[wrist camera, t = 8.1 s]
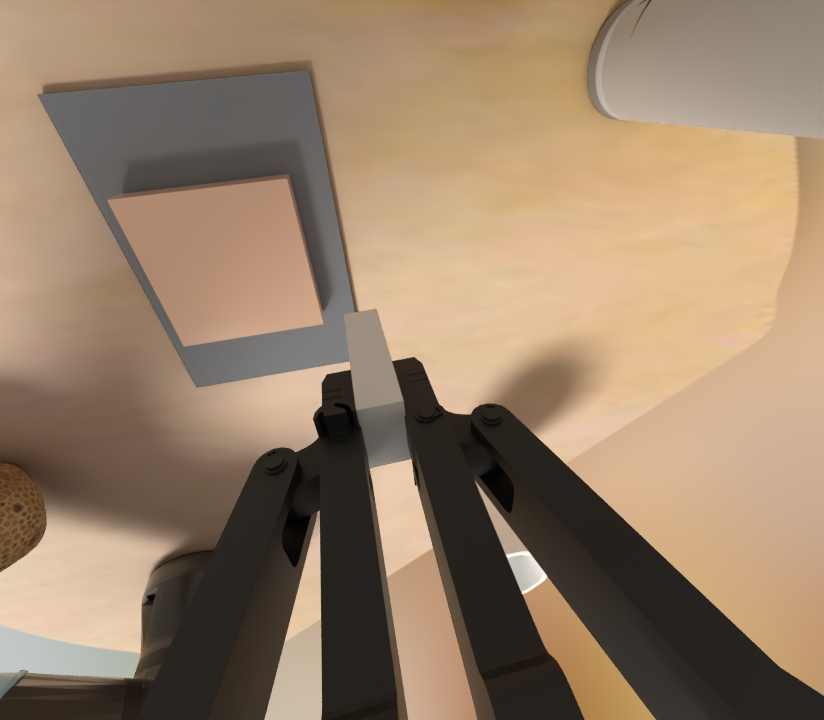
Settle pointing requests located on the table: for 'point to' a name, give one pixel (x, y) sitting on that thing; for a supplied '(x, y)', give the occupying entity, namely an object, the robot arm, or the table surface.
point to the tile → (224, 257)
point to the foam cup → (515, 551)
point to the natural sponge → (19, 515)
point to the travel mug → (713, 65)
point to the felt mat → (209, 163)
